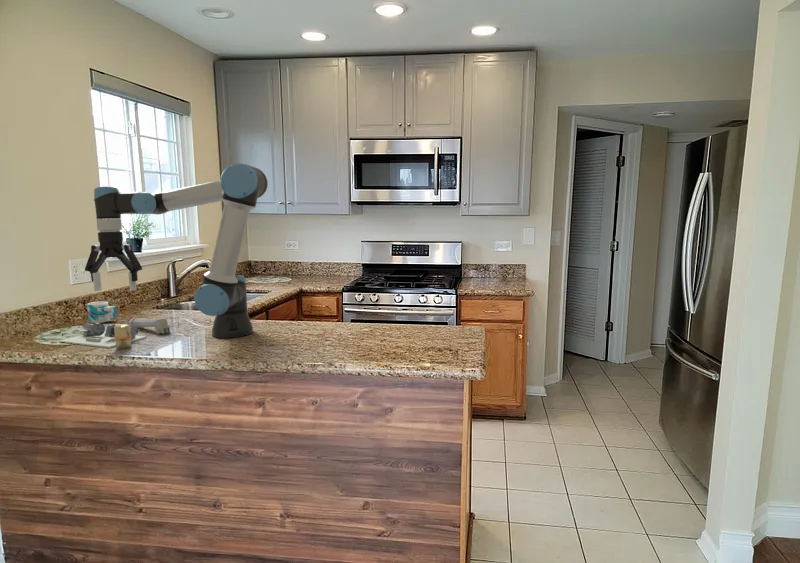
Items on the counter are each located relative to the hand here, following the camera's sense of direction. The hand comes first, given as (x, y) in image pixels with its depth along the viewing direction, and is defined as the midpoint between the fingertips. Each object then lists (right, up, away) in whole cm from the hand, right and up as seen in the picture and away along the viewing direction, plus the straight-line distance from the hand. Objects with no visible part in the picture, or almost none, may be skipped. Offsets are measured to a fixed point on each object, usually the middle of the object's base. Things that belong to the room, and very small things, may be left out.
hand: (115, 290), depth 176 cm
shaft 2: (-1, -18, +6) cm, 19 cm away
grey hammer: (0, -17, +23) cm, 29 cm away
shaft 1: (-16, -18, +12) cm, 26 cm away
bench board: (-9, -19, +7) cm, 22 cm away
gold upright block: (+6, -20, -5) cm, 21 cm away
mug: (-30, -15, +42) cm, 53 cm away
